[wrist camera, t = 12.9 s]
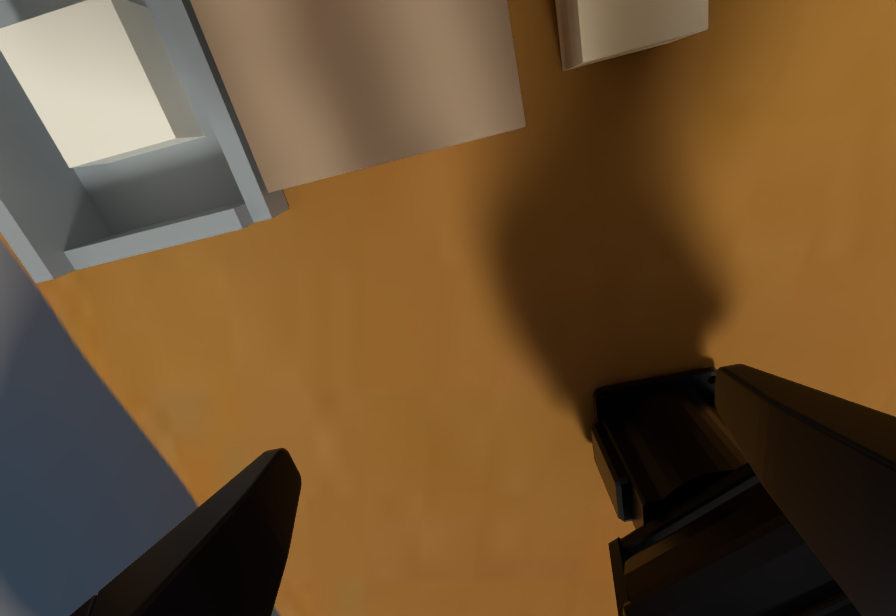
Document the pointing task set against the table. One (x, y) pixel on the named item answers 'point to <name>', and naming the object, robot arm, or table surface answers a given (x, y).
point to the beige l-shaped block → (623, 27)
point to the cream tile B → (100, 81)
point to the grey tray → (126, 168)
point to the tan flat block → (361, 79)
